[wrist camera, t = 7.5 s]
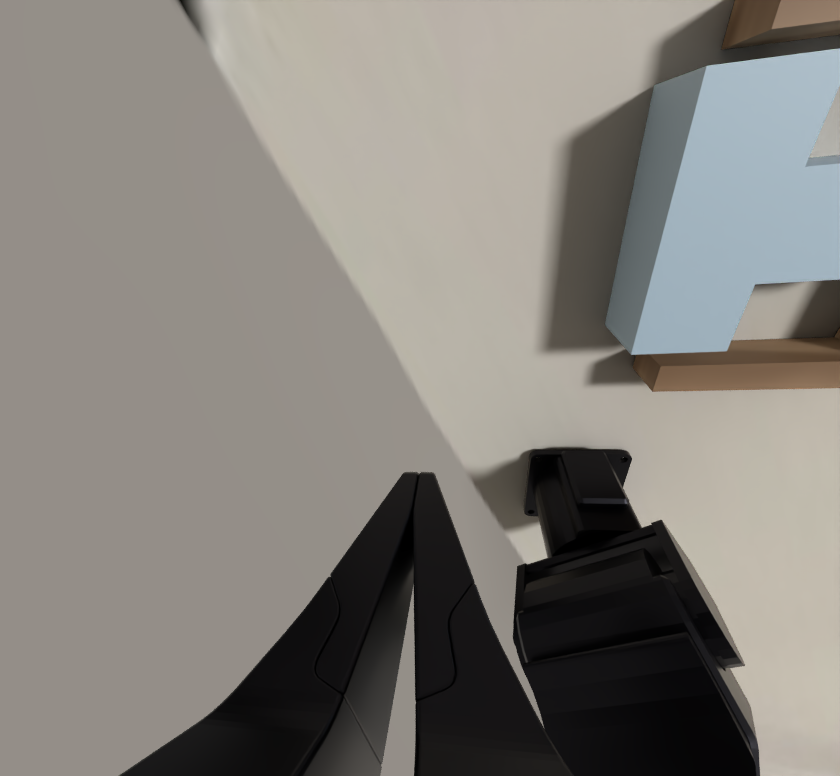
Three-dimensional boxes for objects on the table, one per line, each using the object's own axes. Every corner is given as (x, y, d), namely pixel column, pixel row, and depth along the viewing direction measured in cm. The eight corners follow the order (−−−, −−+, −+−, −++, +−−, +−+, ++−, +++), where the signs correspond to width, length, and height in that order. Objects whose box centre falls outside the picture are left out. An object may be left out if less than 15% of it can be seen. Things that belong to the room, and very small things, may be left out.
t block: (835, 313, 18) (909, 344, 15) (604, 324, 19) (631, 354, 16) (991, 42, 12) (1156, 6, 9) (654, 85, 14) (706, 65, 11)
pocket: (850, 361, 19) (898, 386, 17) (632, 367, 20) (652, 391, 18) (1131, -67, 11) (1292, -120, 9) (737, -9, 12) (795, -44, 10)
